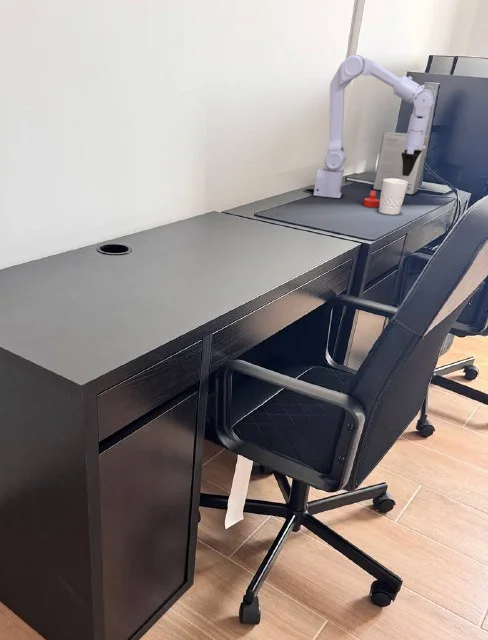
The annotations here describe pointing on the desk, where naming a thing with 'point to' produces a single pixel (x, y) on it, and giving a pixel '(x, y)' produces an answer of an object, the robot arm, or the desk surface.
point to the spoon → (371, 200)
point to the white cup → (392, 196)
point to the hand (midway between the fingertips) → (406, 173)
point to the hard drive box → (398, 161)
